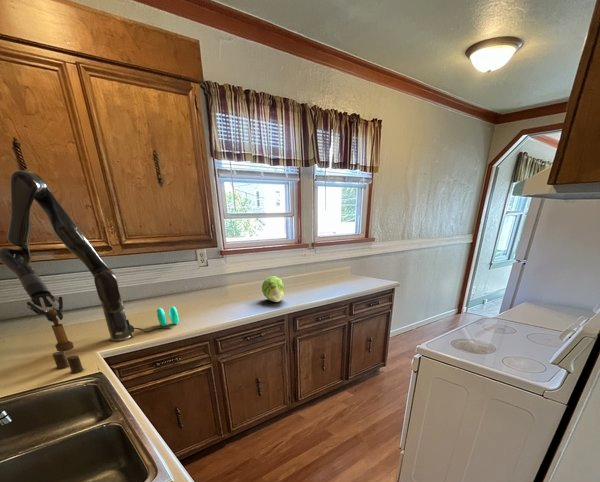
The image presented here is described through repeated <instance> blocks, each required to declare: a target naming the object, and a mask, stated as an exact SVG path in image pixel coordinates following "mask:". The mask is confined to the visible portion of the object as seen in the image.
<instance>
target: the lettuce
mask: <svg viewBox="0 0 600 482" xmlns="http://www.w3.org/2000/svg"><path fill="white" fill-rule="evenodd" d="M285 290H286V288H285V284H284V283H283V281H282V279H281V278H280V277H278V276H275V275H273V276H268V277H267V278H265V279H264V281H262V285H261V292H262V294H263V295H264V297H265V298H266V299H267V300H268V301H270V302H273V303H278V302H280V301H281V300H282V299H283V298H284V295H285Z"/></svg>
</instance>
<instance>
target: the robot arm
mask: <svg viewBox="0 0 600 482" xmlns="http://www.w3.org/2000/svg"><path fill="white" fill-rule="evenodd" d="M10 201H11V202H10V217H9V224H8V228H7V229H8V230H7V235H6V239H7V241H8V243H10V244H12V245H14V246H16V247H17V248H13V247H6V246H5V247H1V248H0V262H1V263H2V264H3V265H4V266H5V267H6V268H7V269H8V270H10V271H11V272H12V273H13V274H14V275H15V276H16V277H17V279H18V281H19V282H20V284H21V286H22V288H23V289H24V291H25V292H26V294H27V295H28V297H29V298H30V299H31V301H27V302H26V308H28V309H29V310H31V311H32V312H34V313H35V314H36V315H38V316H41V315H42V316H45V318H46V320H47V321H49V322H50V323H53V318H52V317H51V315H50V314H49V312H48V310H47V308H50V310H51V309H54V310H56V312H57V316H56V317H58V320H59V321H62V320H63V319H64V314H63V313H62V312H63V308H64V304H63V303H64V299H63V297H62V296H59V297H55V296H54V295H53V294H52V293H51V291H50V289H49V288H48V287H47V285H46V284H45V282H44V281H43V279H42V278H41V277H40V276H39V274H38V273H37V272H36V270H35V269H34V267H33V266H31V265H30V264H31V262H32V257H31V251H30V239H31V234H32V221H31V208H32V205H33V203H34V201H35V202H36V203H37V204H38V206H39V207H40V208H41V209H42V211H43V212H44V214H45V215H46V217H47V219H48V221H49V224H50V226H51V229H52V230H53V231H54V232H53V233H54V234H55V235H56V236H57V238H58V239H59V240H60V241H61V242H62V244H63V245H64V246H65V247H66V248H67V249H68V250H69V252H71V254H73V255H74V256H75V257H76V258H77V259H78V260H79V261H80V262H81V263H82V264H84V266H85V267H86V269H88V271H89V272H90V274H91V275H92V276H93V281H94V285H95V289H96V292H97V296H98V299H99V302H100V304H101V308H102V311H103V314H104V318H105V322H106V326H107V329H108V333H109V337H110V340H111V341H114V342H120V341H126V340H130V339H131V338H133V333H135V330H139V331H142V332H144V333H151V332H154V331H156V330H170V329H171V328H172V327H155V328H152V329H150V330H145V329H143V328H141V327H134V325H132V324H131V323H130V320H129V319H128V318H127V313H126V310H125V307H124V302H123V298H122V295H121V291H120V289H119V288H120V287H119V284H118V277H117V275H116V274H115V272H114V271H113V270H112V269H111V268H110V266H108V265H107V264H106V263H105V261H103V259H101V257H100V256H99V254H98V253H97V251H96V250H95V248H94V247H93V245H92V244H91V243H90V241H89V240H88V238H87V237H86V235H85V234H84V232H83V231H82V230H81V229H80V227H79V226H78V225H77V224H76V222H75V221H74V220H73V219H72V218H71V217H70V215H69V213H68V212H67V211H66V210H65V209H64V208H63V206H62V205H61V203H60V202H59V200H58V199H57V198H56V196H55V195H54V193H53V192H52V190H51V189H50V187H49V186H48V184H47V183H46V181H45V180H44V178H43V177H42V176H40V175H39V174H38V173H37V172H35V171H32V170H16V171H14V172H13V173H12V174H11V176H10ZM56 303H57V304H58V306H57V304H56Z"/></svg>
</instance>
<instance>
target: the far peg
mask: <svg viewBox="0 0 600 482" xmlns="http://www.w3.org/2000/svg"><path fill="white" fill-rule="evenodd" d="M66 359H67V361H68V364H69V366H68V367H69V369H70V372H71V373H72V374H79V373H82V372H83V371H84V367H83V365H82V362H81V359H80V355H77V354H76V355H75V354H74V355H69V356H66Z"/></svg>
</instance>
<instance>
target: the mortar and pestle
mask: <svg viewBox="0 0 600 482" xmlns="http://www.w3.org/2000/svg"><path fill="white" fill-rule="evenodd" d="M47 312H49V314H50V315H51V317H52V318H53V322H52V323H53V324H52V325H51V328H52V331H53V334H54V336H55V339H56V341H57V342H56V344H55V348H56V352H68V351H72V350H73V349H74V348H75V346H74V344H73V342H72V341H71V340H69V339H68V335H67V334H66V331H65V329H64V328H65V327H64V325H63V323H59V321H60V320H59V318H57V317H58V316H57V312H56V310H54V309H51V308H50V309H48V310H47Z"/></svg>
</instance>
